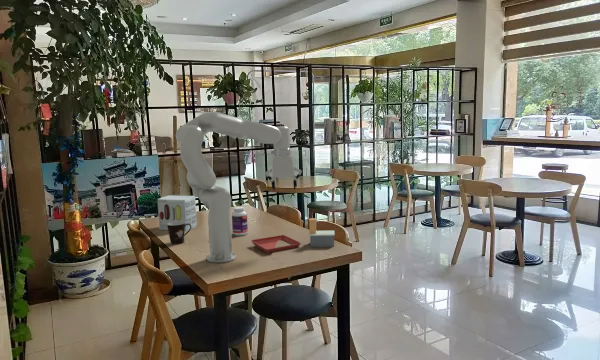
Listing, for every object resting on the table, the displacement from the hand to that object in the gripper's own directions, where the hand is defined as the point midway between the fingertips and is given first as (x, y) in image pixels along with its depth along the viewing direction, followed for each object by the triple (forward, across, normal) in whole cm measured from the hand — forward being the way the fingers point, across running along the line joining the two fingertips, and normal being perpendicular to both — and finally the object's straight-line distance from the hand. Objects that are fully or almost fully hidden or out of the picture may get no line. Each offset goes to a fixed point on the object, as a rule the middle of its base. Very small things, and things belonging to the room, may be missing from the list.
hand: (284, 189), depth 212 cm
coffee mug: (+26, -55, +8) cm, 61 cm away
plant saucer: (+28, -6, -4) cm, 28 cm away
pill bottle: (+27, -27, +23) cm, 44 cm away
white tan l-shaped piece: (+22, +16, -4) cm, 27 cm away
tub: (+28, +16, -4) cm, 32 cm away
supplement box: (+26, -65, +40) cm, 81 cm away
